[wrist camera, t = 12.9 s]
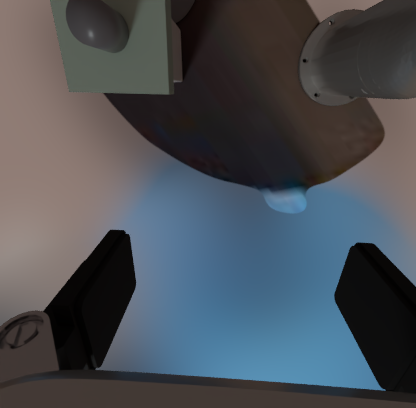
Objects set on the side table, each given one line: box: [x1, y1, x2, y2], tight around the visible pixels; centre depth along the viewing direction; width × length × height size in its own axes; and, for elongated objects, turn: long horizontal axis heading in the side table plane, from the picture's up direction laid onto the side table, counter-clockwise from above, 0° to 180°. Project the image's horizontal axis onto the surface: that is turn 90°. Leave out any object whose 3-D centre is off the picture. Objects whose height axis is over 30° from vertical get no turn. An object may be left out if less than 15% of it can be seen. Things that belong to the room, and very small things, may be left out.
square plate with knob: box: [50, 0, 174, 94], centre depth 20 cm, size 10×10×7 cm
